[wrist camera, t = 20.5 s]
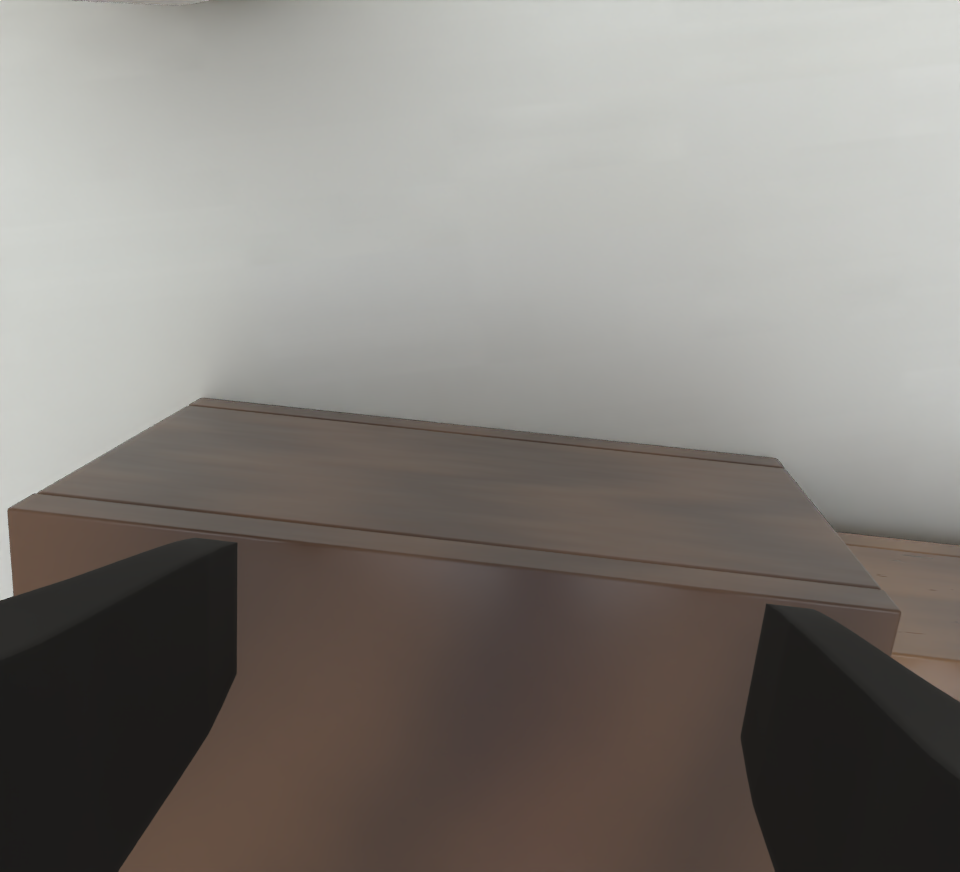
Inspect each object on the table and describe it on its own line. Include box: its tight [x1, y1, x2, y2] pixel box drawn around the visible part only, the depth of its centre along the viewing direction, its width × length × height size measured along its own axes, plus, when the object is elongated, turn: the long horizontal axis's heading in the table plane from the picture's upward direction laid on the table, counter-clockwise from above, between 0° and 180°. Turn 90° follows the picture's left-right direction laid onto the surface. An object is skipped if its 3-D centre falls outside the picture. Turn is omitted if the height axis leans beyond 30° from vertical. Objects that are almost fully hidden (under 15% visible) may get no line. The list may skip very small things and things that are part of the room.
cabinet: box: [7, 398, 901, 872], centre depth 20 cm, size 15×13×8 cm
